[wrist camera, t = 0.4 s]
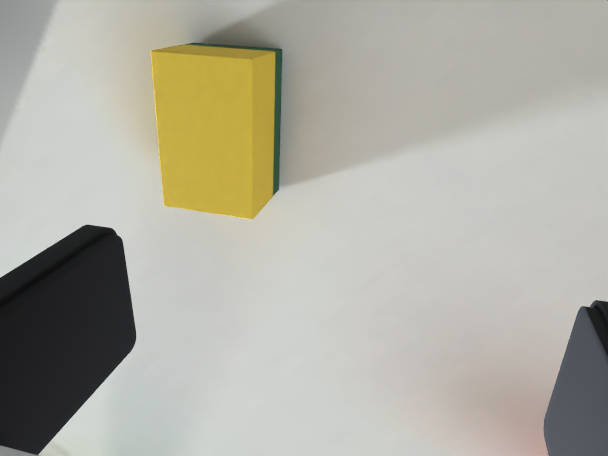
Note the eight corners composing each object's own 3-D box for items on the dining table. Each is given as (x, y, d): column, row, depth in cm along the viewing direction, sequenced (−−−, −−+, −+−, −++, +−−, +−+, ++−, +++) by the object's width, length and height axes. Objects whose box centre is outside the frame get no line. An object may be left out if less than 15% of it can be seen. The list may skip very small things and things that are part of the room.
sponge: (193, 42, 24) (149, 50, 20) (282, 49, 23) (252, 58, 20) (200, 179, 27) (163, 206, 24) (279, 189, 26) (252, 219, 23)
